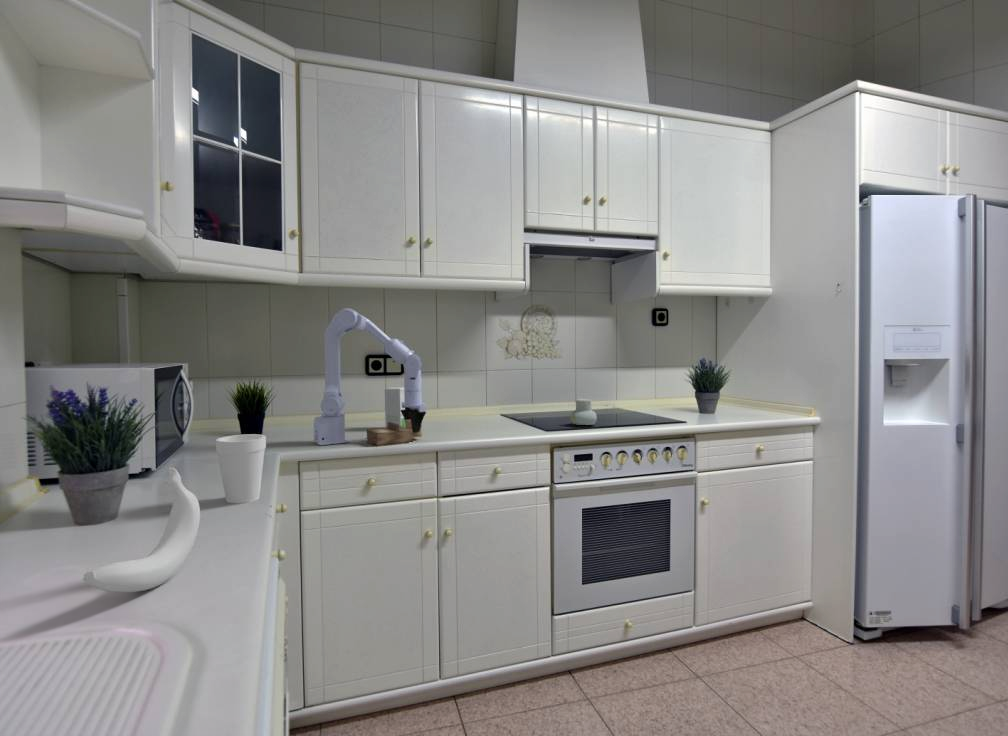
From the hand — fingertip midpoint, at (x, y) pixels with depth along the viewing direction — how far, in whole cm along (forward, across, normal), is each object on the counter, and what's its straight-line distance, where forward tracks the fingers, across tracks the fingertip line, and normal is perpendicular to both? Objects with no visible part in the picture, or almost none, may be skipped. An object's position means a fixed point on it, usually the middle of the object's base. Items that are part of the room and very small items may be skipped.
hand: (413, 431), depth 188 cm
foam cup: (+3, -44, +59) cm, 74 cm away
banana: (+3, -82, +76) cm, 112 cm away
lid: (0, 0, +8) cm, 8 cm away
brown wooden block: (+3, 0, +8) cm, 9 cm away
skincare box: (+3, +25, -5) cm, 26 cm away
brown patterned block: (+2, 0, 0) cm, 2 cm away
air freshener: (+3, -10, -67) cm, 67 cm away
